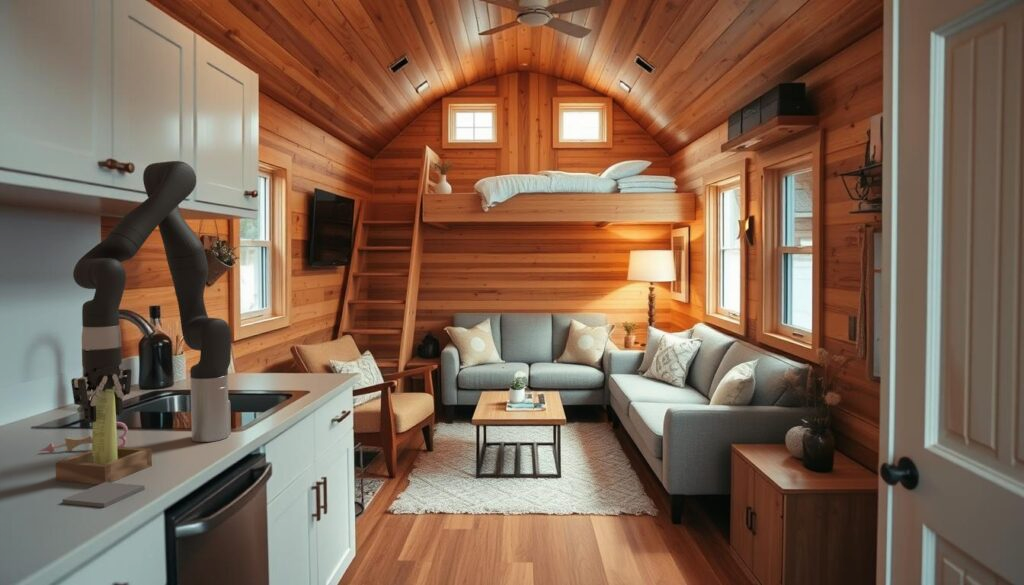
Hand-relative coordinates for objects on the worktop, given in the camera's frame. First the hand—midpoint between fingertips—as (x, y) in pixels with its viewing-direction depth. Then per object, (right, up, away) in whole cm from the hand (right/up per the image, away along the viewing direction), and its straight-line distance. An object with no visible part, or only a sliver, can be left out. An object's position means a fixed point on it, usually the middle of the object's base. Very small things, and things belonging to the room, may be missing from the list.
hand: (103, 418), depth 141 cm
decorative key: (-17, -12, +18) cm, 28 cm away
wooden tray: (0, -13, +1) cm, 13 cm away
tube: (0, -13, +1) cm, 13 cm away
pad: (+9, -13, -14) cm, 21 cm away
